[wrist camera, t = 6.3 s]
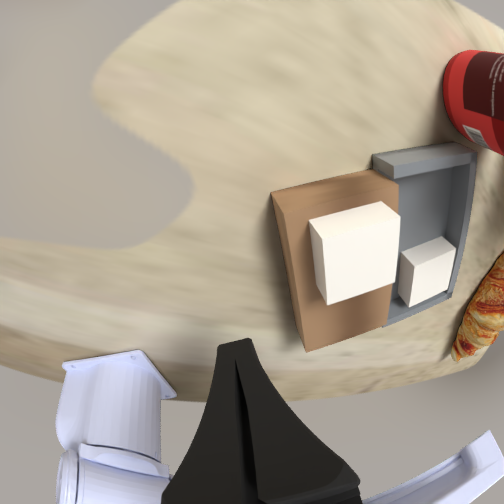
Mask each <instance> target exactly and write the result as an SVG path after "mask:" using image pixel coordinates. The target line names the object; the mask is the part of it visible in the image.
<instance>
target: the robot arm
mask: <svg viewBox="0 0 504 504" xmlns="http://www.w3.org/2000/svg"><path fill="white" fill-rule="evenodd" d="M62 367H63V368H64V369H65V370H66V371H67V373H66V376H65V380H64V384H63V388H62V392H61V397H60V401H59V405H58V410H57V415H56V431H57V435H58V439H59V441H60V443H61V445H62V446H63V448H64V449H65V450H66V452H64V453H62V455H61V458H60V463H59V468H58V474H57V485H56V504H469V503H470V502H472V501H473V500H474V499H476V498H477V497H478V496H479V495H481V494H482V493H483V492H484V491H486V490H487V489H488V488H489V487H491V486H492V485H493V484H494V483H496V482H497V481H498V480H499V479H500V478H501V477H503V476H504V457H503V456H502V453H501V451H500V449H499V447H498V445H497V443H496V441H495V439H494V437H493V435H492V434H491V431H490V430H487V431H486V432H485V433H483V434H482V435H480V436H479V437H478V438H476V439H475V440H474V441H472V442H471V443H469V444H468V445H467V446H465V447H464V448H462V449H461V450H460V451H459V452H458V453H456V454H455V455H453V456H451V457H450V458H448V459H447V460H445V461H443V462H442V463H440V464H438V465H436V466H435V467H433V468H431V469H429V470H428V471H426V472H424V473H422V474H420V475H418V476H417V477H414V478H412V479H410V480H408V481H406V482H404V483H402V484H400V485H398V486H396V487H394V488H392V489H389V490H387V491H385V492H382V493H380V494H377V495H375V496H373V497H370V498H367V499H365V500H361V497H360V491H359V488H358V485H359V484H360V479H359V477H358V475H357V474H356V473H355V472H354V471H353V470H352V469H351V468H350V466H349V465H348V464H347V463H346V462H345V461H344V460H343V459H342V458H341V457H339V456H338V455H337V454H336V453H334V452H333V451H332V450H331V449H330V448H329V447H327V446H326V445H325V444H324V443H323V442H322V441H321V440H320V439H318V438H317V436H316V435H314V434H313V433H312V432H311V431H310V429H308V427H306V425H305V424H304V423H303V422H302V421H301V420H300V419H299V418H298V417H297V416H296V414H295V413H294V412H293V411H292V410H291V408H290V407H289V406H288V405H287V404H286V402H285V401H284V400H283V398H282V397H281V396H280V394H279V393H278V391H277V390H276V389H275V387H274V386H273V384H272V383H271V381H270V379H269V378H268V376H267V374H266V373H265V371H264V369H263V368H262V366H261V364H260V362H259V359H258V356H257V354H256V351H255V348H254V345H253V342H252V340H251V339H250V338H245V339H242V340H238V341H234V342H230V343H225V344H221V345H219V346H218V347H217V357H216V364H215V370H214V375H213V380H212V384H211V388H210V392H209V396H208V400H207V403H206V406H205V410H204V413H203V416H202V419H201V422H200V424H199V427H198V429H197V432H196V434H195V437H194V439H193V441H192V443H191V446H190V448H189V450H188V452H187V454H186V456H185V457H184V459H183V461H182V463H181V465H180V466H179V468H178V470H177V472H176V473H175V475H174V476H173V475H171V474H169V466H168V465H166V464H162V463H161V445H160V444H161V443H160V408H161V407H160V404H161V400H162V399H169V398H175V397H176V396H177V393H176V392H175V390H174V389H173V388H172V387H171V386H170V385H169V383H168V382H167V381H166V380H165V379H164V377H163V376H162V375H161V374H160V372H159V371H158V370H157V369H156V368H155V366H154V365H153V364H152V362H151V361H150V360H149V359H148V357H147V356H146V355H145V353H144V352H143V351H141V350H134V351H129V352H123V353H118V354H112V355H106V356H100V357H94V358H88V359H81V360H75V361H68V362H63V364H62Z"/></svg>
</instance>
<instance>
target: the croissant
mask: <svg viewBox="0 0 504 504" xmlns="http://www.w3.org/2000/svg"><path fill="white" fill-rule="evenodd" d="M501 330H504V253H503V254H502V255H501V256H500V258H499V259H497V260H496V263H495V265H494V267H493V268H492V269H491V271H490V272H489V273H488V274H487V276H486V277H485V278H484V279H483V281H482V283H481V284H480V286H479V288H478V290H477V292H476V294H475V295H474V296H473V298H472V300H471V301H470V303H469V304H468V306H467V309H466V312H465V314H464V317H463V322H462V325H460V327H459V329H458V332H457V338H456V340H455V341H454V343H453V346H452V350H451V356H452V358H453V360H454V361H456V362H458V361H459V360H460V358H464V357H468V356H472V355H474V353H475V351H476V350H478V349H481V348H482V347H484V346H488V345H491V344H493V343H494V341H495V340H496V338H497V337H498V335H499V334H498V333H499V331H501Z"/></svg>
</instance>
